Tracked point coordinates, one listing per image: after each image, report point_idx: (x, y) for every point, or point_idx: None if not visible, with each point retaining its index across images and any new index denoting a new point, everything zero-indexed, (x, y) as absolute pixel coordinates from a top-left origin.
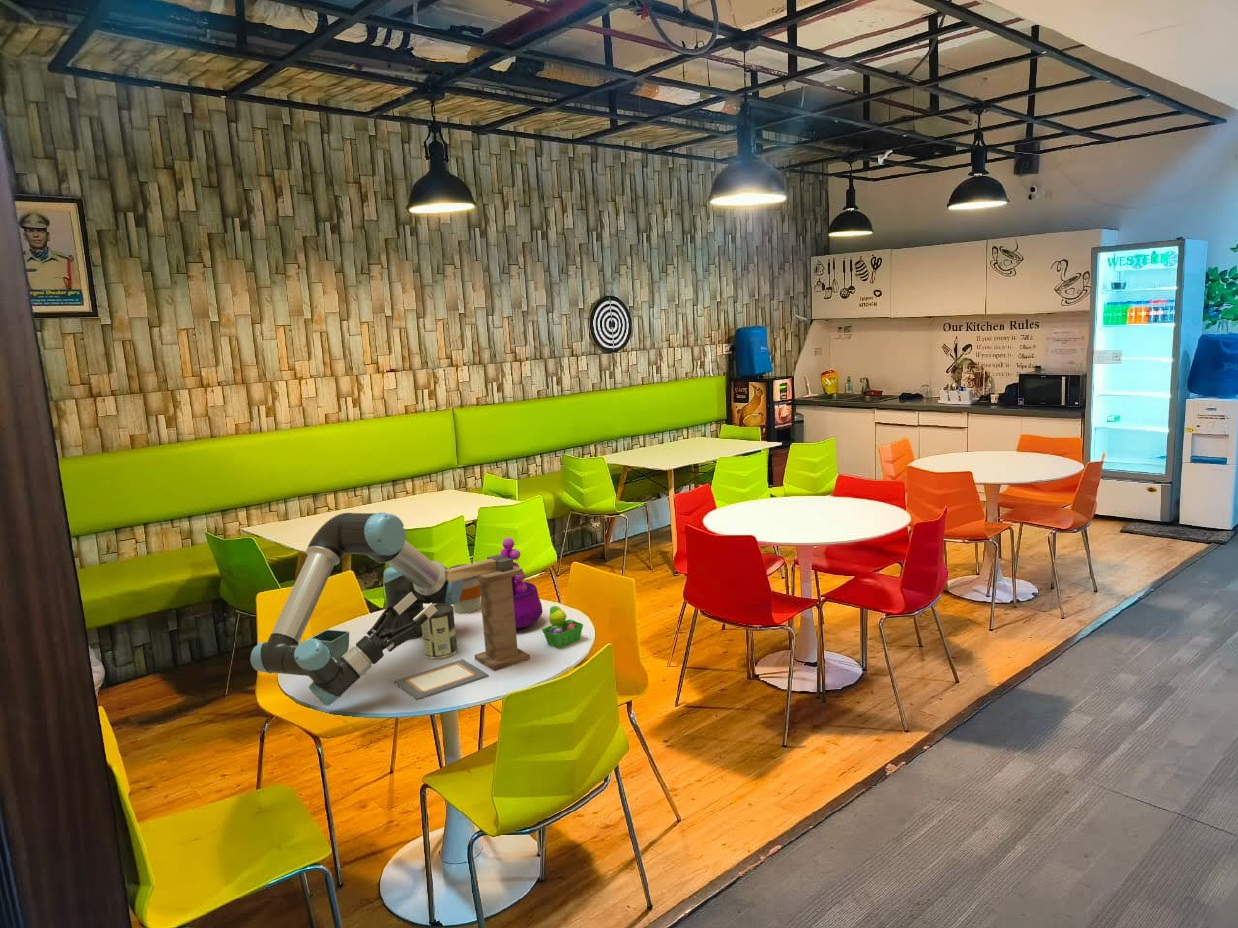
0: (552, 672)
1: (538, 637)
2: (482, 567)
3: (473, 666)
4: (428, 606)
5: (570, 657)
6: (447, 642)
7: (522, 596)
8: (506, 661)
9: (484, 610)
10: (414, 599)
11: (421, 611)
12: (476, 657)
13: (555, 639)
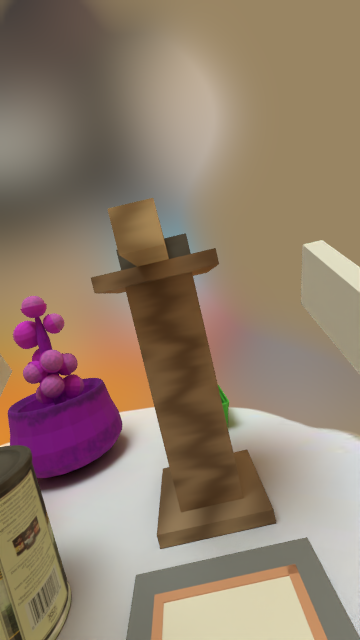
0: (342, 440)
1: (160, 442)
2: (164, 241)
3: (215, 561)
4: (337, 254)
5: (280, 420)
6: (54, 565)
7: (101, 387)
8: (257, 483)
9: (165, 383)
10: (2, 373)
11: (358, 287)
12: (168, 537)
13: (225, 413)
